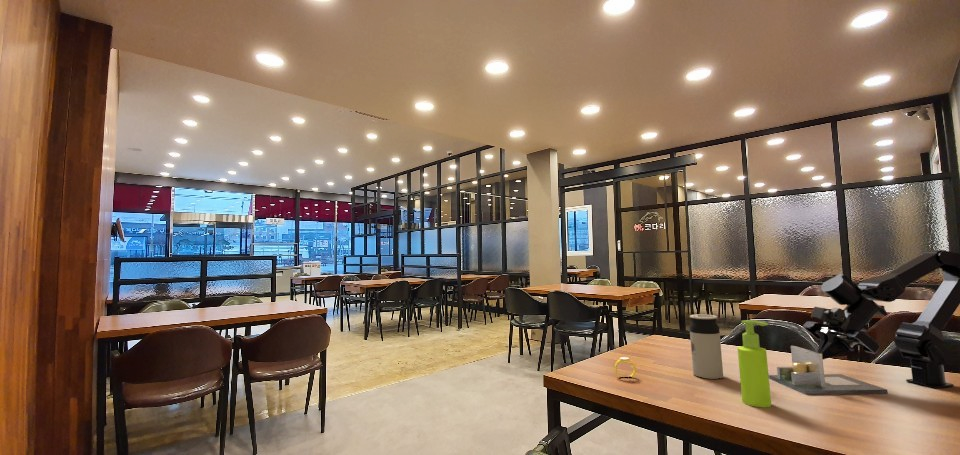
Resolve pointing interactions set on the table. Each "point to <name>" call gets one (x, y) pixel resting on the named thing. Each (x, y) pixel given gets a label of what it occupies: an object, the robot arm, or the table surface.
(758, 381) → the soap dispenser
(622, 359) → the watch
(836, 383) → the base
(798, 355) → the grey bracket
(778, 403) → the table surface
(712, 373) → the travel mug
